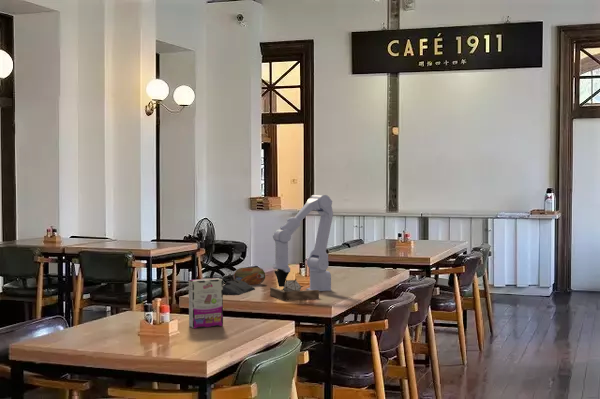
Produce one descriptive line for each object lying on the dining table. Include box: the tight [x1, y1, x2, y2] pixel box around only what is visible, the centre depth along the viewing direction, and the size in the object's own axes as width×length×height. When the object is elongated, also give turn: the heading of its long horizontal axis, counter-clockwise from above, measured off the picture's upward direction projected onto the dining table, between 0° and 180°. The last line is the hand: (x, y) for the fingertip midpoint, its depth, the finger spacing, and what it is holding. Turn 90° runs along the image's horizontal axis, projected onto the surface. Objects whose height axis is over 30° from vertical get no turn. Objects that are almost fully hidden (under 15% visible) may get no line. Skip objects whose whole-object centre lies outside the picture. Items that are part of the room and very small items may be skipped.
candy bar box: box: [188, 277, 224, 329], centre depth 269 cm, size 11×5×16 cm, turn 117°
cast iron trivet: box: [223, 278, 256, 296], centre depth 352 cm, size 15×22×5 cm
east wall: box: [269, 287, 287, 301], centre depth 334 cm, size 2×15×4 cm, turn 25°
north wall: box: [282, 289, 320, 301], centre depth 331 cm, size 16×2×4 cm, turn 115°
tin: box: [233, 266, 266, 286], centre depth 375 cm, size 15×3×8 cm, turn 102°
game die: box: [282, 278, 304, 292], centre depth 336 cm, size 9×8×10 cm
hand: (281, 286), depth 347 cm, fingers closed
